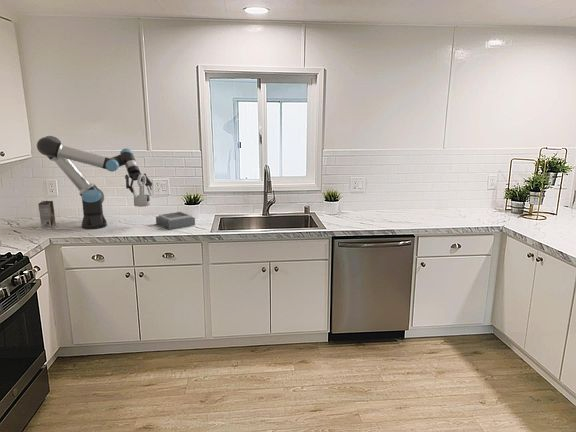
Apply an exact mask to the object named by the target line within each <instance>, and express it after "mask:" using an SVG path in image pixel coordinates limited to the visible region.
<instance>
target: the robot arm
mask: <svg viewBox="0 0 576 432" xmlns="http://www.w3.org/2000/svg"><path fill="white" fill-rule="evenodd" d="M36 148H37V151H38V152H39V153H40V154H41V155H43V156H46V157H47V158H48V159H49V161H50V162H51V161H52V162H55V164H56V165H57V167H59V168H60V170H61V171H62V172H63V173H64V174H65V176H66V177H67V178H68V179H69V180H70V181H71V182H72V184H73V185H74V186H75V187H76V188H77V190H78V191H79V193H78V194H79V196H80V197H81V201H82V202H81V203H82V211H83V218H82V220H81V228H82V229H84V230H97V229H102V228H105V227H107V226H108V223H107V220H106V218H105V215H104V210H103V203H104V200H105V195H104V192H103V191H102V190H101V189H99V188H98V187H97V185H96V184H95V183H92V182H90V181H89V179H88V178H87V177H86V176H85V175H84V174H83V172H82V171H81V170H80V169H79V167H78V166H77V165H76V164H75V163H74V162H77V163H80V164H84V165H89V166H93V167H96V168H100V169H105V170H107V171H108V172H117V170H118V169H119V168H120V167H123V166H124V167H125V168H126V171H127V174H125V176H124V179H125V188H126V189H127V190H129V191H130V192H131V193H132V195H133V198H134V197H137V193H136V190H135V188H134V186H133V185H134V181H137V179H138V176H139V175H140V174H142V173H141V170H140V168H139V166H138V163H137V161H136V159H135V156H134V154H133V152H132V149H130V148H123V149H121V151H120V154H117V155H115V156H113V157H105V156H102V155H100V154H96V153H95V154H94V153H93V152H89V151H84V150H81V149H77V148H75V147H71V146H70V147H69V146H66V145H64V144H63V143H62V141H61V140H60V139H59V138H57V137H56V136H53V135H47V136H45V137H41V138H40V139H38V141H37V143H36ZM143 174H144V175H145V177H146V184H145V187H146V191H148V192H147V193H148V195H149V196H150V197H151V196H152V194H153V192H152V186H153V182H151V180H150V179H149V177H148V176H147V173H143ZM130 179H131V181H130ZM142 182H143V178H142V177H141V183H142Z"/></svg>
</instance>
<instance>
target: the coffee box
mask: <svg viewBox="0 0 576 432" xmlns="http://www.w3.org/2000/svg"><path fill="white" fill-rule="evenodd" d="M37 205H38V212H39V219H40V221H39V222H40V228H42V229H45V228H47V229H48V228H49V229H50V228H53V227H54V226H55V225H56V216H55V209H54V201H53V200H42V201H40V202H39V203H38V204H37Z"/></svg>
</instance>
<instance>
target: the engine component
mask: <svg viewBox="0 0 576 432" xmlns="http://www.w3.org/2000/svg"><path fill="white" fill-rule="evenodd" d="M141 177H142V178H143V182H141ZM136 181H137V182H136V183H137V185H138V187H139V188H138V189H139V191H138V192H139V194H138V195H136V197H134V196H133V206H134V207H138V208H140V207H141V208H143V207H149V206H150V205H151V196H150V195H149V194H147V193H145V187H146V185H145V184H146V177H145V175H144V173H141V174H140V175H139V176H138V179H137V180H136Z"/></svg>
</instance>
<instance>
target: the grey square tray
mask: <svg viewBox="0 0 576 432" xmlns="http://www.w3.org/2000/svg"><path fill="white" fill-rule="evenodd" d="M155 222H156V223H155V224H156V225H158V226H160V227H163V228H165V229H167V230H174V229H181V228H187V227H192V226H195V225H196V218H195V217H193V216H192V215H191V214H188V213H186V212H183V211H176V212H175V211H174V212H170V213H169V212H168V213H167V212H166V213H162V214H158V216H155Z"/></svg>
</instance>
